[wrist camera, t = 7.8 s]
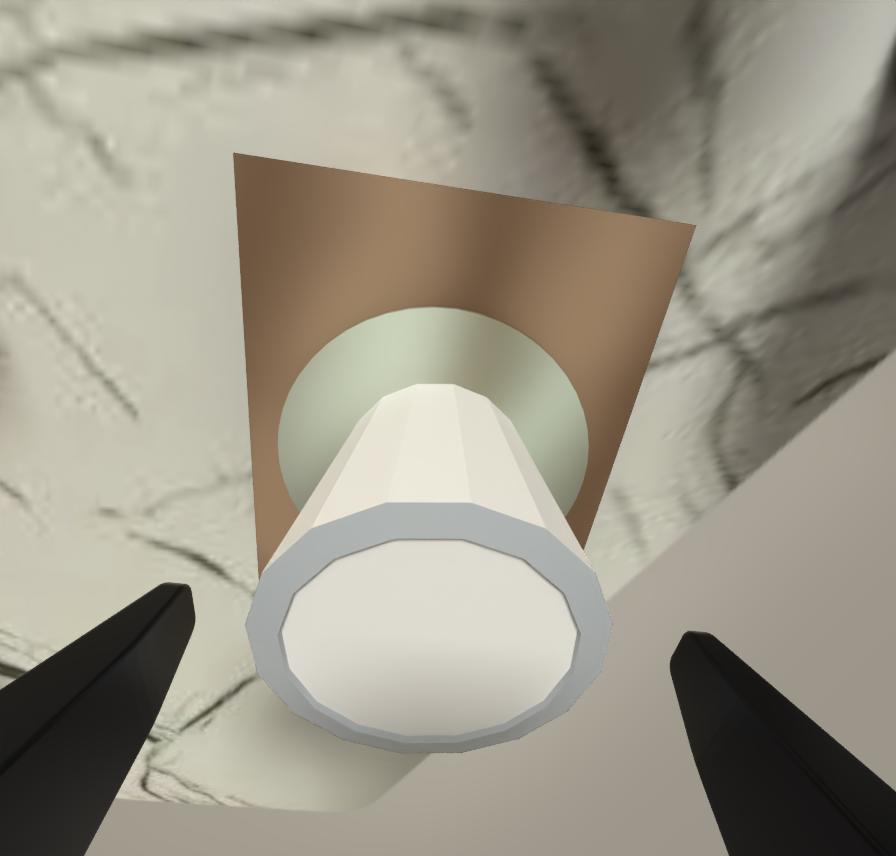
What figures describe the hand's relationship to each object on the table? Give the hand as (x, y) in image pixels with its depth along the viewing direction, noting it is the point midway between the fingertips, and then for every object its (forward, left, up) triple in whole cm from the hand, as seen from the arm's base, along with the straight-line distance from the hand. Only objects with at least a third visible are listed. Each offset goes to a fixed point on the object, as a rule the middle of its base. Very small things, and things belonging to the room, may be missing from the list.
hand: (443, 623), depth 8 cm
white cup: (0, +1, -7) cm, 7 cm away
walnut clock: (0, +1, -12) cm, 12 cm away
